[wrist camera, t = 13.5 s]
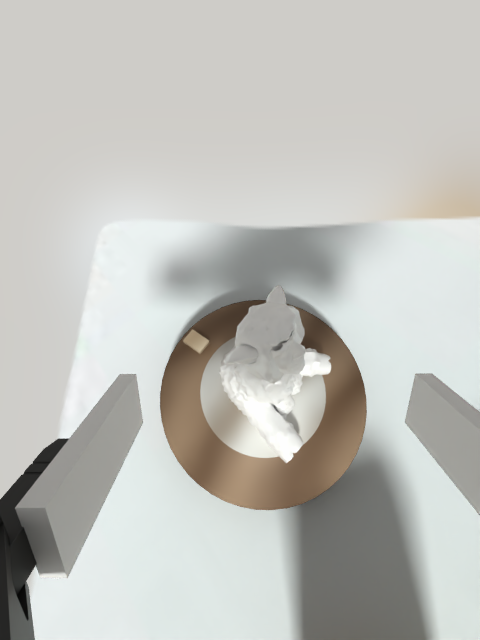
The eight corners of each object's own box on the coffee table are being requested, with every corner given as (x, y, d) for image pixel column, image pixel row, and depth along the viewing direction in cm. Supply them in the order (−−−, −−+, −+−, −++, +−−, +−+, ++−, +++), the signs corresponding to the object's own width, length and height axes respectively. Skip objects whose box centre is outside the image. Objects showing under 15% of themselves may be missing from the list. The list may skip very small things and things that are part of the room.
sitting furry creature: (292, 467, 23) (340, 475, 12) (197, 416, 24) (162, 383, 13) (330, 362, 26) (394, 296, 15) (245, 325, 28) (249, 241, 17)
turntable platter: (393, 368, 27) (402, 363, 26) (297, 566, 21) (301, 574, 19) (239, 276, 32) (239, 267, 30) (120, 415, 25) (113, 413, 24)
